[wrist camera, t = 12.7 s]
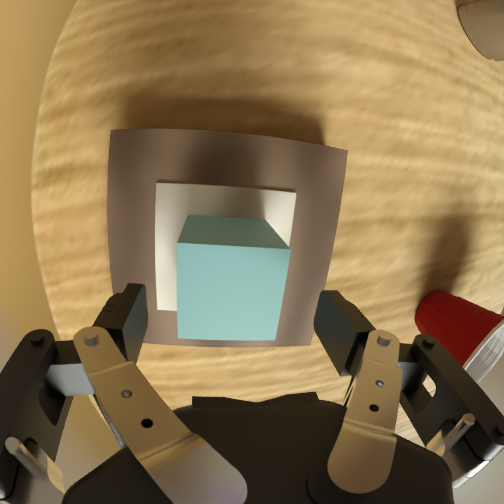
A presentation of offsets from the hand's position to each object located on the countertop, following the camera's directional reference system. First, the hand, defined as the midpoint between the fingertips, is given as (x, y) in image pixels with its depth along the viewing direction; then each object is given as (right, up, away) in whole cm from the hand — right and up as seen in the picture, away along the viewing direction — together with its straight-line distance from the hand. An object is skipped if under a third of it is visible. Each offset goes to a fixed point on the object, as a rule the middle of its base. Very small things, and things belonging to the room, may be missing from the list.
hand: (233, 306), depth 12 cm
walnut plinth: (-2, +4, +10) cm, 11 cm away
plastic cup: (+24, -5, +17) cm, 30 cm away
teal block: (-1, +2, +6) cm, 7 cm away
